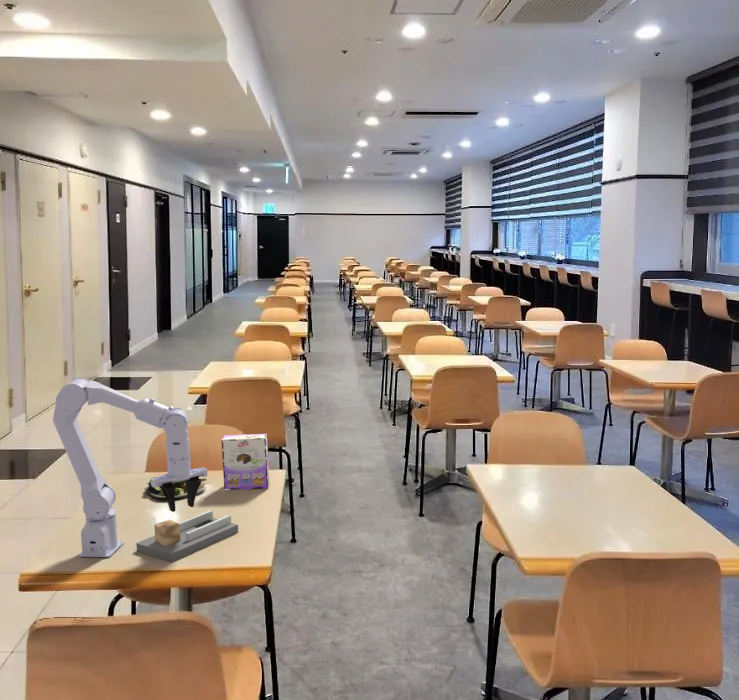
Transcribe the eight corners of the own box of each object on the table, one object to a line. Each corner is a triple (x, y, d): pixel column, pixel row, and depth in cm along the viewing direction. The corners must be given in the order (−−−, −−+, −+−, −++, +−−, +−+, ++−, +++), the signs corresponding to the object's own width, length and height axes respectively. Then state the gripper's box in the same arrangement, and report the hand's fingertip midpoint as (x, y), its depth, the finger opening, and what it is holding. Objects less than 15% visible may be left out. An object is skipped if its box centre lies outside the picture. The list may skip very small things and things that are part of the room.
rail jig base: (204, 522, 220) (203, 508, 219) (238, 531, 213) (237, 517, 212) (136, 550, 202) (135, 535, 201) (171, 561, 194) (170, 546, 194)
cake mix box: (269, 483, 253) (267, 432, 251) (268, 489, 247) (266, 437, 245) (226, 484, 253) (223, 434, 250) (223, 490, 247) (220, 439, 244)
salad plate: (196, 478, 261) (195, 464, 261) (220, 491, 247) (219, 477, 246) (138, 490, 250) (137, 476, 249) (160, 505, 236) (159, 490, 235)
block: (171, 536, 205) (169, 519, 205) (180, 540, 202) (179, 523, 201) (155, 541, 202) (154, 524, 202) (164, 546, 199) (163, 528, 198)
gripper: (197, 448, 210) (200, 498, 212) (145, 459, 201) (148, 510, 203) (210, 454, 204) (212, 505, 206) (156, 465, 195) (159, 518, 198)
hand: (181, 508), depth 204 cm, fingers open, 4 cm apart
